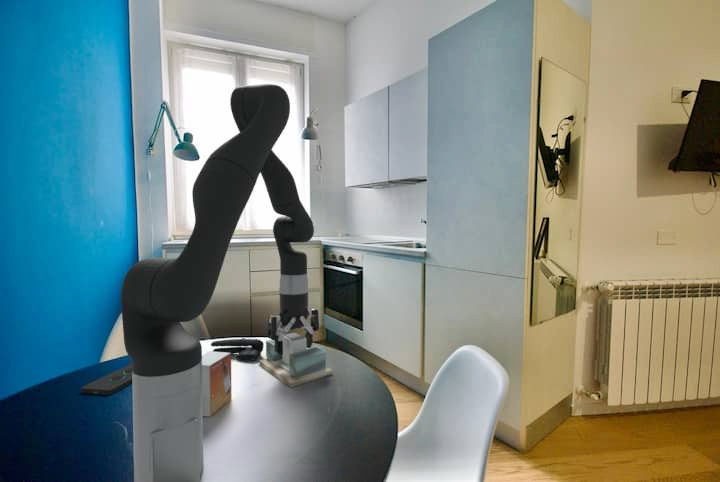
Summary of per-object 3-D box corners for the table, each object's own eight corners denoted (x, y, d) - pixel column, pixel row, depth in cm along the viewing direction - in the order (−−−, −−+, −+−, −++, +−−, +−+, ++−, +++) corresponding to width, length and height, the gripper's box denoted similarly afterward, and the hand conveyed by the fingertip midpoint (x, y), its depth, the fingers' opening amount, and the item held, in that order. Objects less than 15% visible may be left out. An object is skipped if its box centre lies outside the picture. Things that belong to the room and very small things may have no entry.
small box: (210, 418, 69) (209, 366, 69) (185, 415, 70) (184, 363, 70) (232, 398, 77) (232, 352, 77) (210, 396, 78) (209, 350, 78)
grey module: (295, 357, 97) (295, 331, 96) (306, 364, 92) (306, 337, 92) (282, 361, 94) (282, 334, 94) (293, 368, 89) (292, 340, 89)
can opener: (268, 355, 104) (268, 336, 104) (255, 363, 98) (255, 344, 98) (220, 349, 110) (219, 331, 110) (204, 356, 103) (203, 338, 103)
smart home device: (79, 387, 80) (145, 356, 100) (79, 394, 80) (145, 362, 100) (110, 389, 79) (171, 357, 98) (110, 397, 79) (171, 363, 98)
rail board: (332, 374, 90) (331, 350, 90) (290, 387, 82) (290, 361, 82) (297, 354, 104) (297, 334, 104) (259, 364, 96) (259, 342, 96)
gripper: (275, 295, 85) (276, 361, 86) (324, 289, 94) (324, 348, 95) (262, 291, 91) (263, 352, 91) (309, 286, 100) (309, 341, 100)
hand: (294, 350), depth 93 cm, fingers open, 8 cm apart
